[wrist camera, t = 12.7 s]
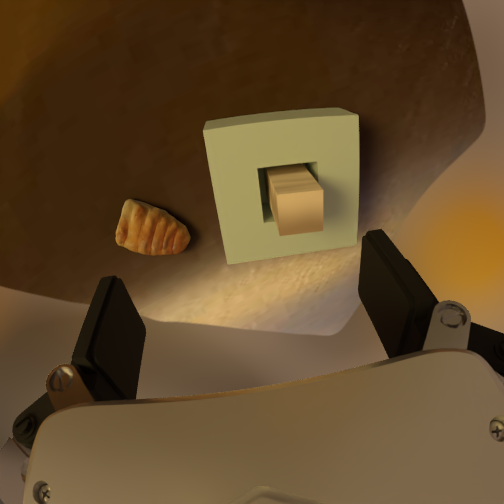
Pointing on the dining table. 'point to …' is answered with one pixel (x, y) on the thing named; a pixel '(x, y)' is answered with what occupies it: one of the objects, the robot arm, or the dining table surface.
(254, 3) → the dining table surface
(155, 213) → the pastry
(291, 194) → the birch block
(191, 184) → the dining table surface
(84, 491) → the robot arm
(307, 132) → the well block
